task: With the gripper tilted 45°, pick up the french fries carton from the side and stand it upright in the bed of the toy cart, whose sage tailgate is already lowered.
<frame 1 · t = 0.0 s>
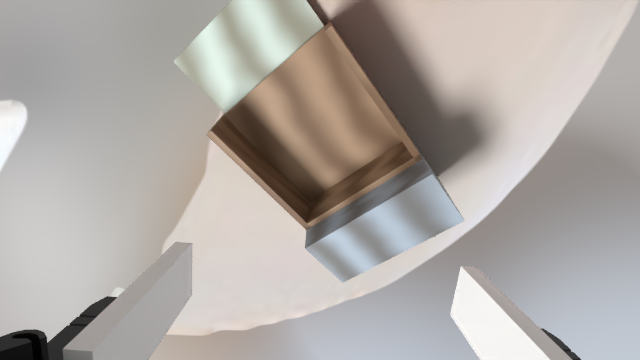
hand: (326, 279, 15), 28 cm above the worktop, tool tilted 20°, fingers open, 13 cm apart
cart: (317, 125, 40), on the worktop
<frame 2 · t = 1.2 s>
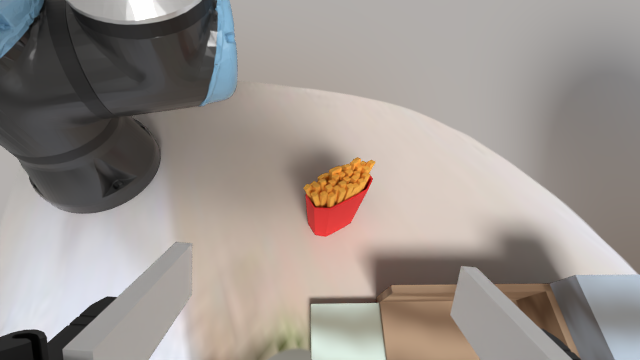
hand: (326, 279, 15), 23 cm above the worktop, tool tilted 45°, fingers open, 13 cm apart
french fries: (329, 220, 42), on the worktop
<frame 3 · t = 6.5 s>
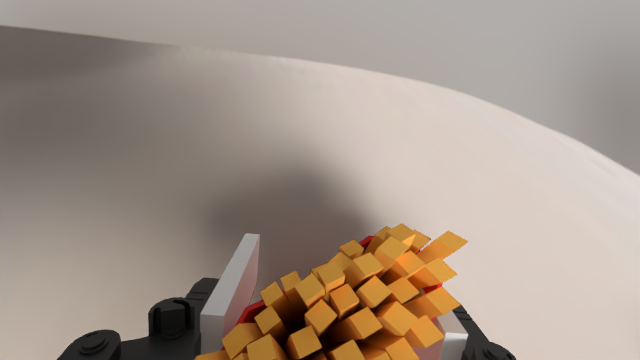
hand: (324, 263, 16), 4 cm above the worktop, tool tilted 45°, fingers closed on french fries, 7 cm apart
french fries: (315, 342, 18), on the worktop, touching gripper
when the fingers open (7 cm above the worktop, at t = 12.8 s): french fries drops 1 cm, resting on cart.
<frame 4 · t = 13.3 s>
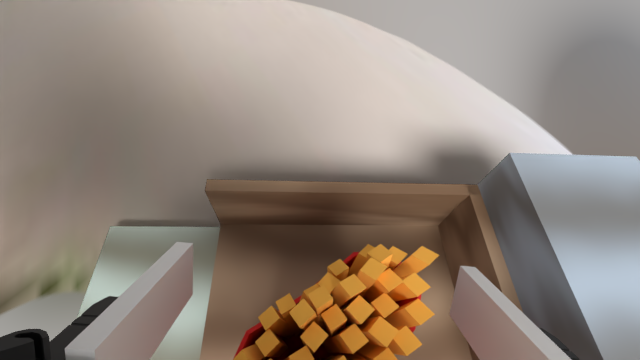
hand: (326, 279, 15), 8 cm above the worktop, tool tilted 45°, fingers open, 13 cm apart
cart: (342, 344, 20), on the worktop
french fries: (313, 349, 19), point 1 cm above the worktop, touching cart
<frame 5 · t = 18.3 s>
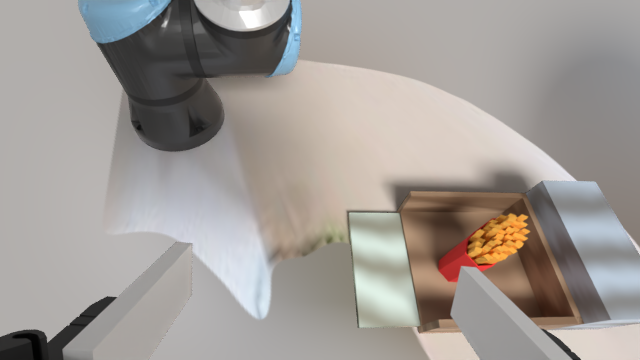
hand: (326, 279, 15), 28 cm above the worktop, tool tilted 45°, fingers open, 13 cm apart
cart: (464, 265, 45), on the worktop
french fries: (455, 264, 43), point 1 cm above the worktop, touching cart
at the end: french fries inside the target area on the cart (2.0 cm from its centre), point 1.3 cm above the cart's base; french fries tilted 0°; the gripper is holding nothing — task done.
